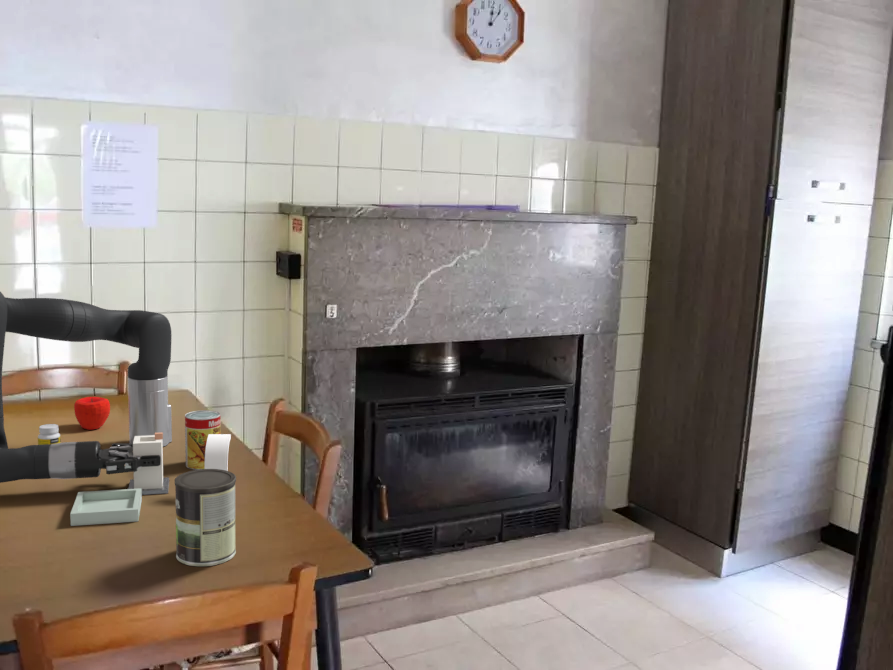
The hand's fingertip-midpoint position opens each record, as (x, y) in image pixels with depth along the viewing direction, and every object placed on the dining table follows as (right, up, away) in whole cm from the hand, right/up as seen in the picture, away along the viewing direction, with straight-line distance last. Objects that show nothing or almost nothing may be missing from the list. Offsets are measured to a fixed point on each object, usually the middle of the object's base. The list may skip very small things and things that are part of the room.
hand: (160, 455), depth 184 cm
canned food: (+4, -5, +17) cm, 18 cm away
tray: (-6, -9, -14) cm, 17 cm away
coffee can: (+18, -13, -31) cm, 39 cm away
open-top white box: (-3, -6, 0) cm, 7 cm away
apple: (-32, +1, +43) cm, 54 cm away
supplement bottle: (-31, -4, +16) cm, 35 cm away
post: (-3, -7, 0) cm, 7 cm away
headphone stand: (+12, -8, -1) cm, 15 cm away
